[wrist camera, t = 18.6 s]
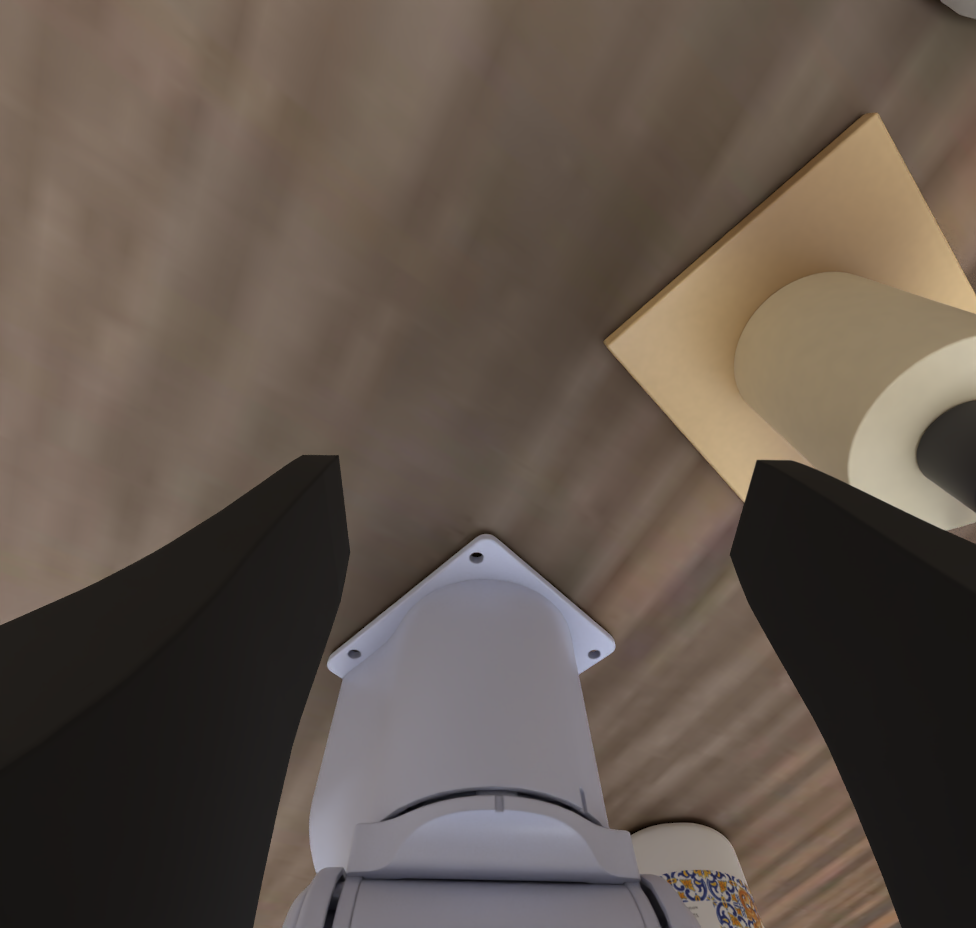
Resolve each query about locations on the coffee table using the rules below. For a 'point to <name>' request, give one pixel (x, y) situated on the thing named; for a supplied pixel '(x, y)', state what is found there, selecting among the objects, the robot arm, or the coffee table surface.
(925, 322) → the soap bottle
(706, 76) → the coffee table surface
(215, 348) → the coffee table surface
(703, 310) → the coaster
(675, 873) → the bath foam
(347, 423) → the coffee table surface
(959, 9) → the beverage can
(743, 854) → the coffee table surface
